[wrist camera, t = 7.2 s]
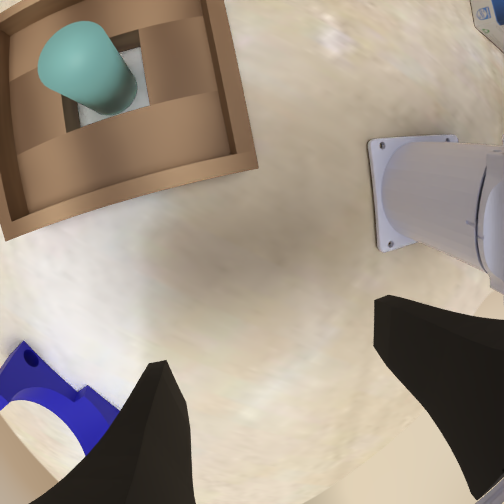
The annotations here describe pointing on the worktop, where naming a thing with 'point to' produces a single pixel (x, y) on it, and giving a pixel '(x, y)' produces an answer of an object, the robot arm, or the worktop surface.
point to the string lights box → (490, 19)
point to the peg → (87, 68)
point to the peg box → (123, 125)
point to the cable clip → (55, 396)
